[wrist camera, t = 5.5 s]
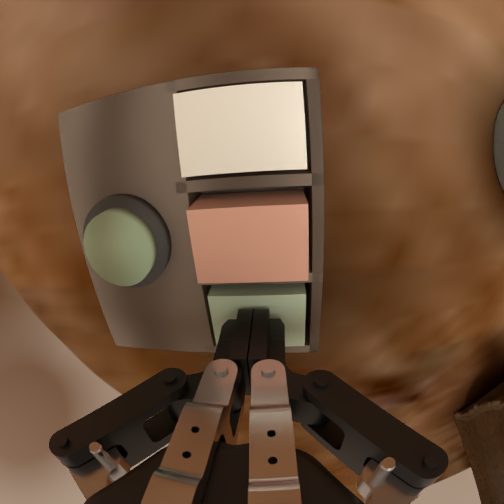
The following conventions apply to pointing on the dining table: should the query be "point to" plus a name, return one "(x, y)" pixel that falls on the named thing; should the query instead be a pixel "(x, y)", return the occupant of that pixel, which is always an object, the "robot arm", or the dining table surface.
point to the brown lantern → (485, 443)
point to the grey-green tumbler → (499, 145)
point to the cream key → (241, 128)
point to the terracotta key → (250, 237)
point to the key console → (171, 209)
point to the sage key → (261, 306)
